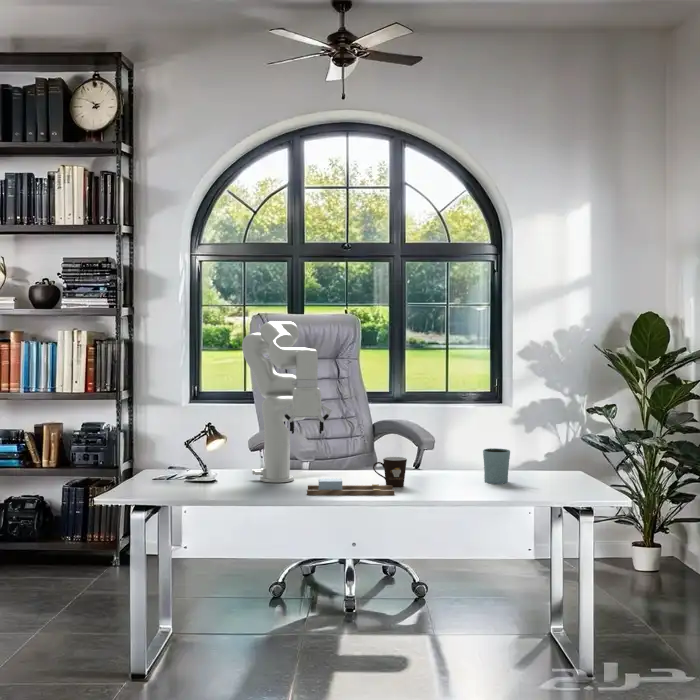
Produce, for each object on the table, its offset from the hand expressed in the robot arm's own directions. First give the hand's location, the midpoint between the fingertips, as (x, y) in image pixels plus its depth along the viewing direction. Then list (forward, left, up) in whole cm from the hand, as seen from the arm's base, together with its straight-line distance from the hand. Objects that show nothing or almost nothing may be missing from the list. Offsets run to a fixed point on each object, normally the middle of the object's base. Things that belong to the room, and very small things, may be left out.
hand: (306, 433), depth 315 cm
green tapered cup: (+70, +21, -21) cm, 76 cm away
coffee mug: (+30, +13, -21) cm, 39 cm away
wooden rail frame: (+15, 0, -21) cm, 26 cm away
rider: (+8, 0, -21) cm, 22 cm away
